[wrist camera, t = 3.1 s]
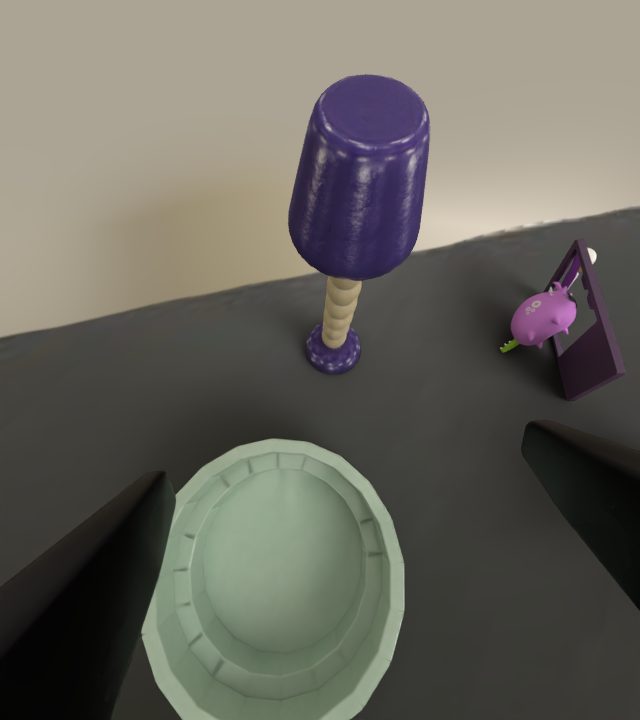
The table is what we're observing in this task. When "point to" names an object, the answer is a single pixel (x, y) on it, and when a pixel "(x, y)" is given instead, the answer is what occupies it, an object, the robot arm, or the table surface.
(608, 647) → the table surface
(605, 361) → the pig swing toy
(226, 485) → the basin
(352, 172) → the toy lamp
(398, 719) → the table surface
